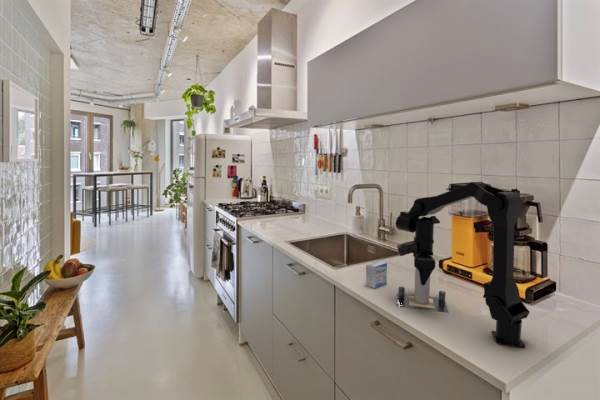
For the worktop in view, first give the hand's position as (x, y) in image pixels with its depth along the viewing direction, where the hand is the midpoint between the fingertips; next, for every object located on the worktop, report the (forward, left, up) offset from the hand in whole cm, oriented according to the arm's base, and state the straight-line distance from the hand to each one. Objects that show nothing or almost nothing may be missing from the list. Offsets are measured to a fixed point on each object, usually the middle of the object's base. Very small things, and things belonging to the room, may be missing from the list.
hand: (422, 280), depth 112 cm
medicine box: (+12, +16, -8) cm, 22 cm away
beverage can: (0, 0, -8) cm, 8 cm away
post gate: (0, 0, -8) cm, 8 cm away
